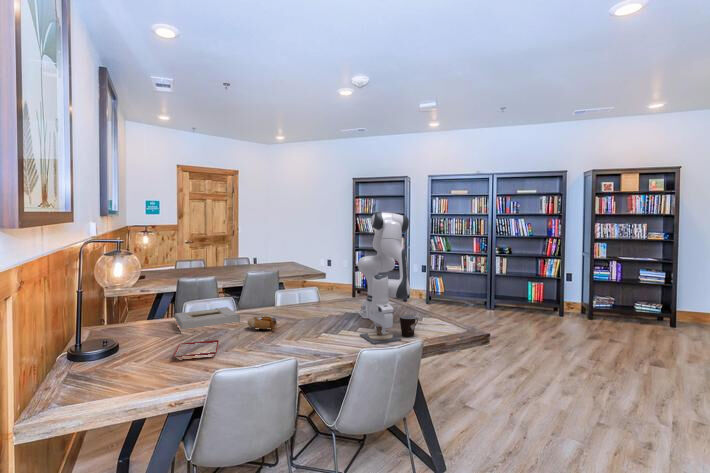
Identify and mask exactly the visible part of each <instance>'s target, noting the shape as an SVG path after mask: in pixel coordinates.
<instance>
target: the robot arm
mask: <svg viewBox="0 0 710 473" xmlns="http://www.w3.org/2000/svg"><path fill="white" fill-rule="evenodd" d="M370 221H371V223H370V224H371V227H372V228H373V229H374V230H375V232H374V236H373V240H372V243H371V244H372V245H371V246H372V247H373V248H372V249H373V250H375V252H377V253H376V255H366V256H362V257H360V258H359V260H358V262H357V269H358V270H359V272H360V273H361V274H363V276H364V278H365V279H366V283H367V284H366V285H367V294H366V300H365V301H364V302H363V303H362V304H361V306H360V310H359V311H357V312H358V313H357V314H359V316H360V317H361V318H362V319H369V320H370V321H372V322H374V330H375V331H377V327H378V326H382V330H381V334H385V331H387V329H391V328H393V325H394V314H393V313H394V307H393V306H392V305H391V304H390V298H395V299H400V300H405V299H406V298H407V297H409V296H410V295H411V284H410V283H411V282H410V278H409V276H410V275H409V264H408V256H407V252H406V250H404V248H403V245H402V239H403V238H402V237H403V233H404V234H405V233H406V232H407V231H408V229H409V226H410V220H409V218H408V216H406V215H404V214H398V213H396V212H395V213H393V212H384V211H383V212H382V211H375V212H374V213H373V215H372V216H371V220H370ZM396 261H397V263H398V268H399V279H394V278H389V276H388V274H384V273H388V272H391V271H393V270H394V268H395V267H396Z"/></svg>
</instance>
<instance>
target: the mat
mask: <svg viewBox="0 0 710 473" xmlns="http://www.w3.org/2000/svg"><path fill="white" fill-rule="evenodd" d="M385 332H389V330H386V331H385ZM368 333H369V332H368ZM368 333H360V334H359V336H360V337H361V338H363V339H364V340H366V341H367V342H369V343H370V344H372V345H381V344H386V343H392V342H393V343H394V342H402V338H400V337H398V336H397V335H395V334H393V338H392V339H389V340H373V339H370V338H368Z"/></svg>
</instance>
